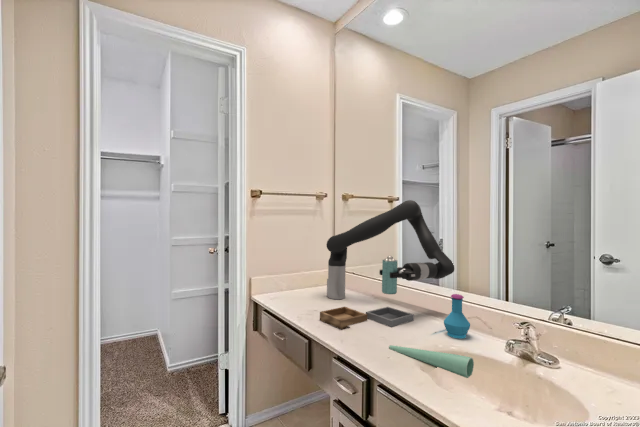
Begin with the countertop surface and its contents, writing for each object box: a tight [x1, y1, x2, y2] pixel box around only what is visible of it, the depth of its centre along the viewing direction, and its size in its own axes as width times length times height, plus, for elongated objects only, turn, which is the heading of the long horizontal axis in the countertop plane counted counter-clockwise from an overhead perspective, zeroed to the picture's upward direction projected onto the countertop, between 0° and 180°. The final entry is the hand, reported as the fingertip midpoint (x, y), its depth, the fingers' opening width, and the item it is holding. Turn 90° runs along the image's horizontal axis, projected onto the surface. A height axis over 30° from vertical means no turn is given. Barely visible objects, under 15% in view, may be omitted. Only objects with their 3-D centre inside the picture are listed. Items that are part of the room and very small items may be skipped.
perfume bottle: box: [443, 293, 471, 339], centre depth 125 cm, size 9×9×15 cm
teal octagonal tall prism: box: [381, 255, 398, 295], centre depth 139 cm, size 6×6×16 cm
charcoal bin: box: [365, 306, 415, 328], centre depth 139 cm, size 14×14×4 cm
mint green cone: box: [388, 345, 475, 379], centre depth 103 cm, size 5×6×27 cm
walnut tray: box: [319, 306, 368, 331], centre depth 138 cm, size 14×14×4 cm
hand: (385, 273), depth 138 cm, fingers closed on teal octagonal tall prism, 6 cm apart
